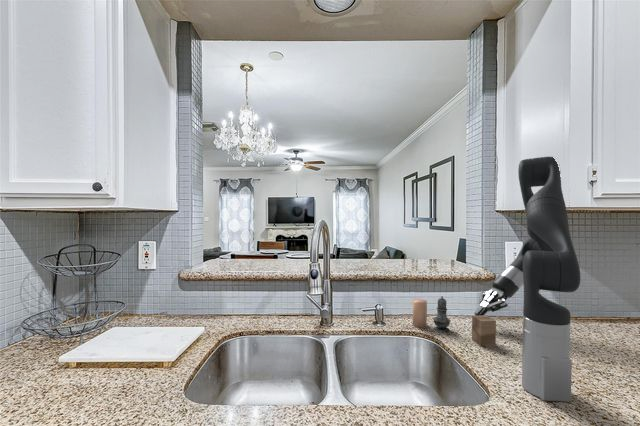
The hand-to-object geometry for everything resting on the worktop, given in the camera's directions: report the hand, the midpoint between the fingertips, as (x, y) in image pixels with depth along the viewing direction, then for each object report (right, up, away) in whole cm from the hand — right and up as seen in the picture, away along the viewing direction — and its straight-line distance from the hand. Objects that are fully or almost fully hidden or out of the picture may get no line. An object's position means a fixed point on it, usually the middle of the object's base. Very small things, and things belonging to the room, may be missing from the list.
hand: (477, 316), depth 117 cm
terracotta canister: (-20, -4, +3) cm, 20 cm away
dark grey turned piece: (-13, -5, -1) cm, 14 cm away
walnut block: (-4, -5, -12) cm, 14 cm away
